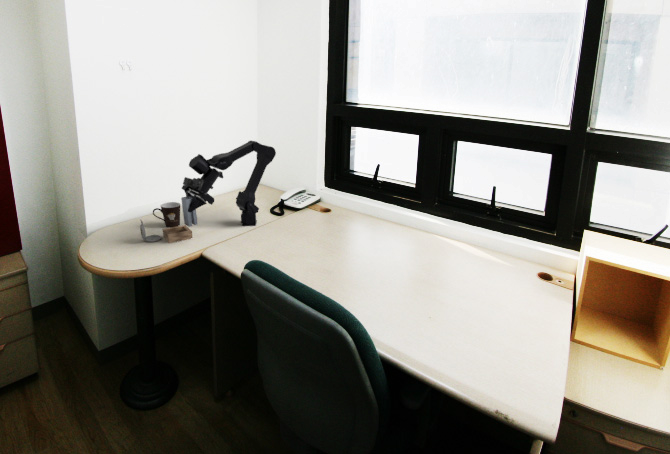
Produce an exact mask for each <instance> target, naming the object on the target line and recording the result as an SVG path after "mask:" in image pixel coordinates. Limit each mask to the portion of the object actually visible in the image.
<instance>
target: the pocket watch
mask: <svg viewBox="0 0 670 454" xmlns="http://www.w3.org/2000/svg"><path fill="white" fill-rule="evenodd" d="M139 219H140V218H139ZM139 225H140V226H139V228H140V235H141V239H142V240H144V241H145V242H147V243H153V242H157V241H160V240H161V238H162V237H161V235H160V234H151V235H147V234H146V230H145V229H146V228H145V225H144V222H143V221H142V219H140V224H139Z"/></svg>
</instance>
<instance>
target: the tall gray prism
mask: <svg viewBox="0 0 670 454" xmlns="http://www.w3.org/2000/svg"><path fill="white" fill-rule="evenodd" d="M180 199H181V207H182V214H183V215H182V216H183V222H184V224H183V225H186V226H187V227H188V228H189V227H193V225H194V226H197V225H198V217H197V216H198V214H197V209H195V210H193V211H192V212H188V210H189V208H190V206H191V204H192V202H193V201H194V197H192V196H187V197H186V196H182V197H181V198H180Z"/></svg>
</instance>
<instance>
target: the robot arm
mask: <svg viewBox="0 0 670 454" xmlns="http://www.w3.org/2000/svg"><path fill="white" fill-rule="evenodd" d="M253 152H255V153H256V163H255V166H254V168H253V170H252V171H251V175H250V177H249V179H248V181H247V184H246V187H245V189H244V190H242V191H239V192H238V193H237V196H236V198H235V204H236V207H238V208H239V211H241V214H240V223H241V226H247V227H248V226H251V227H252V226H253V227H254V226H256V225H257V222H258V220H257V213H259V210H260V208H259V207H258V206H257V205H256V204H255V202H256V191H257V189H258V187H259V185H260V182H261V180H262V178H263V175H264V173H265V170H266V168H267V166H268V165H269V164H270V163H273V160H274V158H275V157H276V154H277V153H276V152H277V151H276V149H275V148H274V147H273V146H269V145H266V144H261V143H259V142H258V141H256V140H248V142H246V143H243V144H242V145H240V146H238V147H236V148H234V149H232V150H230V151H228V152H225V153H219V154H218V153H217V154H215V155H213V156H212V157H211V158H208V159H206V158H205V157H204V156H203V155H202V154H200V153H199V154H197V156H195V157H193V158H191V159H190V161H189V163H188V167H190V169H191V170H193V171H194V172H196V173H198V174H197V175H202V176H201V177H197V178H196V177H194V178H189V177H186V176H185V177H184V178H183V182H182V186H181V189H182V190H183V191H184V193H185V197H187V196H192V197H194V201H193V202H192V204H191V206H190V208H189V210H188V212H192V211H193V210H195V209H196V210H197V209H198V208H200V207H203V206H204V205H207V204H209V205H213V204H214V203H215V197H213V196H212V195H210V194H209V193H208V192H210V190H213V189H214V186H213V185H214V184H215V182H216V181H217V180H218V178H219V179H220V178H221V179H224V175H223V171H226V170H227V169H229V168H230V167H231V166H232V165H233V163H234V162H236V161H238V160H240V159H241V158H243V157H245V156H247V155H248V154H250V153H253ZM220 170H221V171H220Z"/></svg>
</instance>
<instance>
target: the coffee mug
mask: <svg viewBox="0 0 670 454" xmlns="http://www.w3.org/2000/svg"><path fill="white" fill-rule="evenodd" d="M157 210H158V211H160V212H161V214H162V217H163V218H162V217H159V216H158V215H156V214H155V211H157ZM152 215H154V217H155V218H157V219H159V220H161V221H163V222H164V226H165V228H171V227H177V226H181V203H180V202H176V201H170V202H169V201H168V202H165V203H162V204H160V208H154V209H153V210H152Z"/></svg>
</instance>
